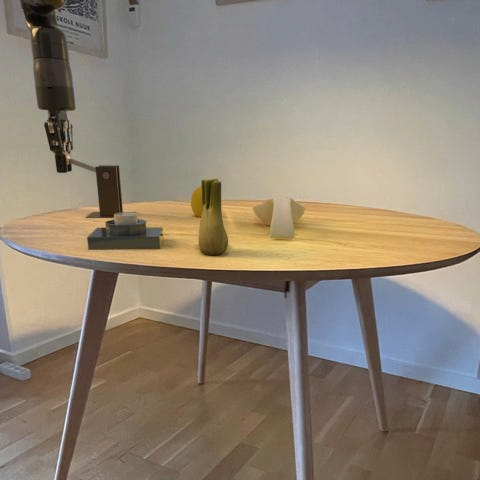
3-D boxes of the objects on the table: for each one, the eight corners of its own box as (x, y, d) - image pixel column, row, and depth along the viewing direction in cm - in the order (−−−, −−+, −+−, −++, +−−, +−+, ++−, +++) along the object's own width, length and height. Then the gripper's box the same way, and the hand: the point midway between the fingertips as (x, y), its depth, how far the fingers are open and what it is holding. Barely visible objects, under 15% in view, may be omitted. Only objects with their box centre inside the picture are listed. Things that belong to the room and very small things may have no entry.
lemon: (199, 218, 112) (198, 183, 109) (219, 220, 109) (219, 184, 106) (186, 221, 107) (185, 185, 104) (207, 223, 105) (207, 186, 102)
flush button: (112, 225, 80) (112, 215, 80) (116, 222, 84) (115, 212, 83) (136, 225, 81) (135, 215, 80) (139, 221, 84) (138, 212, 84)
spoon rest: (252, 219, 110) (252, 188, 108) (302, 220, 110) (303, 188, 108) (252, 239, 88) (253, 201, 86) (314, 240, 88) (317, 202, 86)
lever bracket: (86, 222, 104) (80, 166, 100) (93, 216, 111) (88, 164, 107) (132, 222, 105) (128, 167, 100) (136, 216, 112) (132, 165, 108)
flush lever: (51, 163, 101) (55, 148, 100) (56, 162, 104) (59, 147, 103) (111, 184, 104) (115, 170, 103) (113, 183, 107) (117, 169, 106)
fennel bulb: (199, 249, 80) (197, 176, 76) (227, 249, 80) (228, 177, 76) (197, 257, 75) (196, 179, 70) (228, 257, 75) (228, 180, 71)
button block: (88, 250, 79) (85, 226, 77) (98, 239, 87) (96, 217, 86) (160, 249, 80) (158, 225, 79) (163, 238, 88) (162, 217, 87)
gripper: (45, 88, 103) (55, 170, 110) (24, 81, 90) (37, 174, 96) (80, 89, 104) (88, 170, 110) (64, 82, 91) (74, 174, 97)
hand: (64, 171), depth 103 cm, fingers closed on flush lever, 3 cm apart
